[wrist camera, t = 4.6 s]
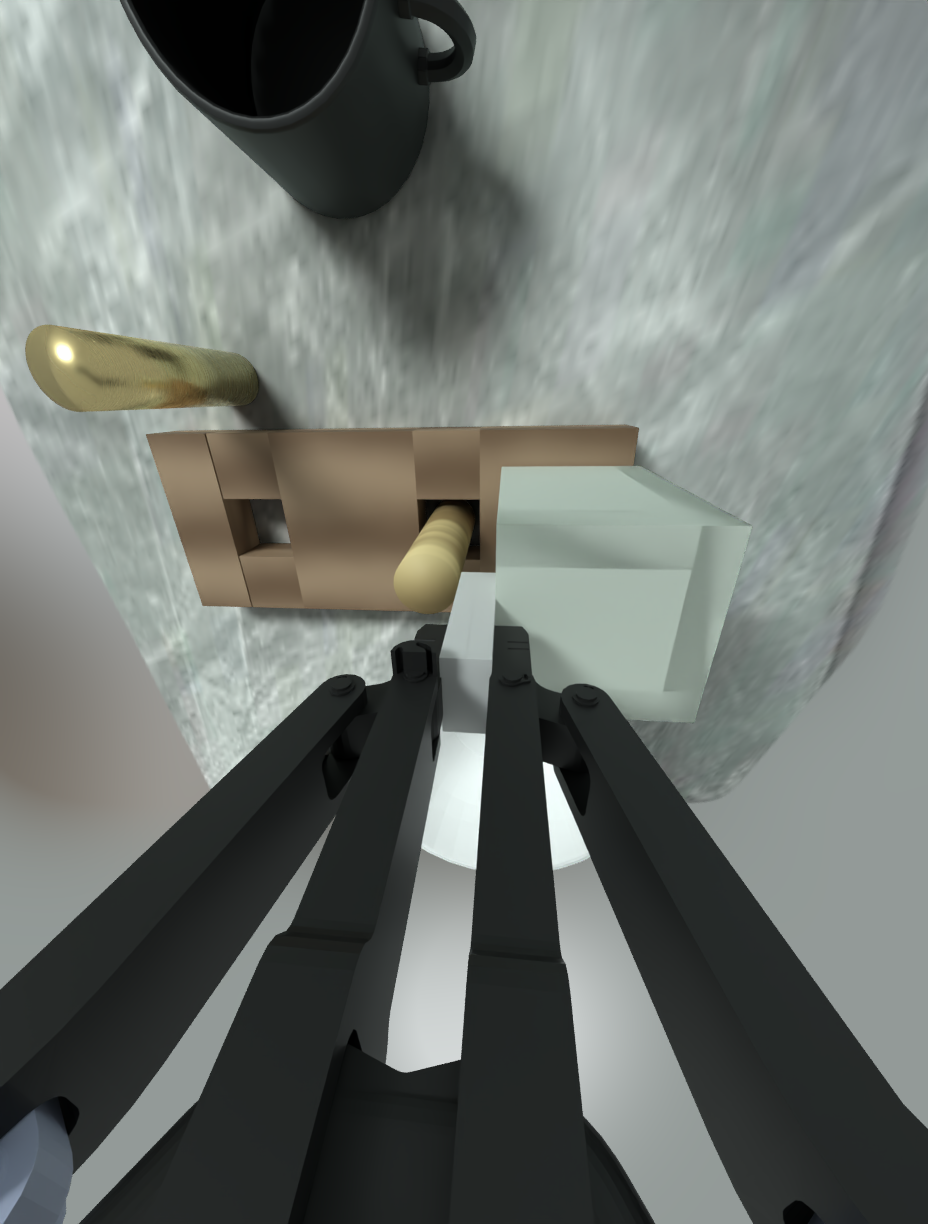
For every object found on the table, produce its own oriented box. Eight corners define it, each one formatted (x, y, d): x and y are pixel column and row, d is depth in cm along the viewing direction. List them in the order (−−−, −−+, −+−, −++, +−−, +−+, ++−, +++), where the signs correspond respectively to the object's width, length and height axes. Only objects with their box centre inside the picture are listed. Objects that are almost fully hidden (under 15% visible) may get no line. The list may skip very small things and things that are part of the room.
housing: (501, 466, 25) (496, 524, 14) (640, 466, 25) (752, 526, 13) (499, 589, 29) (493, 713, 18) (619, 591, 28) (694, 723, 17)
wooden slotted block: (178, 430, 29) (-10, 451, 19) (626, 424, 27) (704, 444, 16) (226, 589, 35) (101, 675, 24) (601, 597, 32) (647, 698, 21)
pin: (207, 353, 27) (11, 326, 16) (252, 351, 27) (82, 323, 16) (220, 405, 28) (47, 412, 18) (263, 405, 28) (113, 411, 17)
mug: (470, 236, 23) (451, 151, 15) (256, 211, 24) (126, 116, 15) (495, -39, 19) (486, -362, 11) (232, -63, 19) (33, -394, 11)
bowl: (443, 805, 44) (430, 886, 37) (362, 654, 37) (325, 720, 29) (634, 773, 40) (663, 858, 32) (588, 593, 32) (612, 651, 25)
